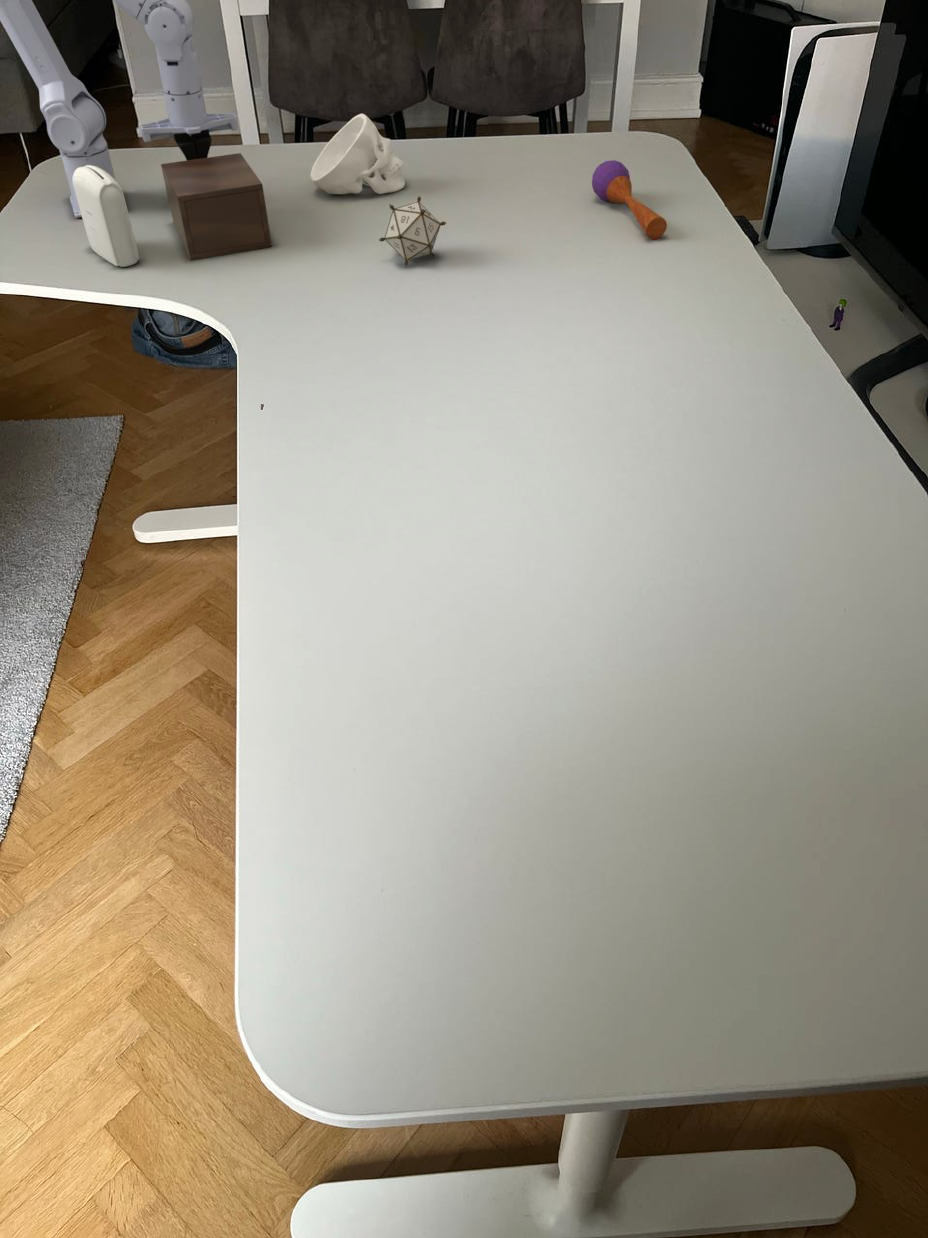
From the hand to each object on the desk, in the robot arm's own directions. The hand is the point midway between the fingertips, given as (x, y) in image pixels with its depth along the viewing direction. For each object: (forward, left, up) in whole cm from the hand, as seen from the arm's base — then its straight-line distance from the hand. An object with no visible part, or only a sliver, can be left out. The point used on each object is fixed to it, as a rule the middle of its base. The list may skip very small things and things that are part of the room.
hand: (199, 182), depth 158 cm
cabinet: (+14, 0, -4) cm, 14 cm away
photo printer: (+15, -16, -4) cm, 22 cm away
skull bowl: (+4, +25, -4) cm, 26 cm away
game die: (+34, +24, -4) cm, 42 cm away
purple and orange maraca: (+32, +60, -4) cm, 68 cm away
